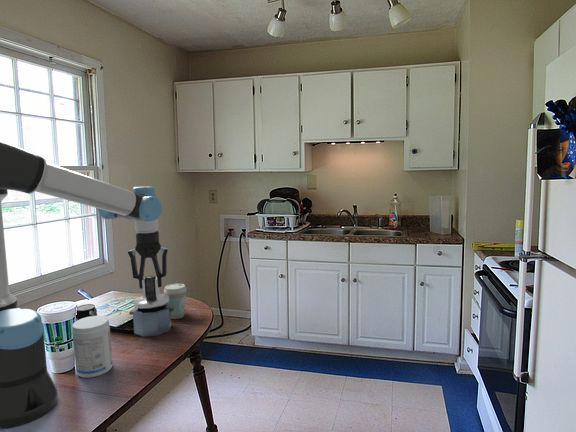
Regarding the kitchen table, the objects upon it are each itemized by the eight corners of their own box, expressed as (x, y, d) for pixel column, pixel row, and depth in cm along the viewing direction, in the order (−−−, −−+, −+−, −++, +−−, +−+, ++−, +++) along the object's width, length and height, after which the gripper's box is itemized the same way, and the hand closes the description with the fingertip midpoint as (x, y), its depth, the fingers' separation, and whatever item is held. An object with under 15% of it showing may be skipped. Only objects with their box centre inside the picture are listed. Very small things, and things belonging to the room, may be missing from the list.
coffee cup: (181, 321, 150) (179, 290, 149) (160, 319, 152) (158, 289, 151) (191, 313, 159) (190, 283, 157) (172, 311, 161) (170, 282, 159)
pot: (173, 334, 139) (171, 312, 138) (127, 338, 136) (125, 315, 135) (176, 321, 151) (175, 300, 150) (134, 324, 148) (133, 303, 147)
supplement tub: (91, 361, 121) (87, 314, 119) (119, 363, 119) (116, 315, 117) (68, 378, 111) (63, 327, 109) (99, 380, 110) (95, 329, 108)
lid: (167, 307, 137) (165, 280, 136) (130, 309, 135) (128, 283, 134) (171, 295, 149) (169, 271, 148) (137, 298, 147) (135, 273, 146)
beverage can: (75, 340, 135) (72, 306, 133) (96, 335, 139) (93, 302, 137) (79, 347, 130) (76, 312, 128) (101, 342, 134) (98, 307, 132)
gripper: (173, 228, 144) (176, 291, 147) (124, 230, 141) (129, 294, 144) (170, 231, 137) (174, 298, 140) (119, 234, 134) (124, 301, 137)
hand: (151, 296), depth 142 cm, fingers closed on lid, 4 cm apart
